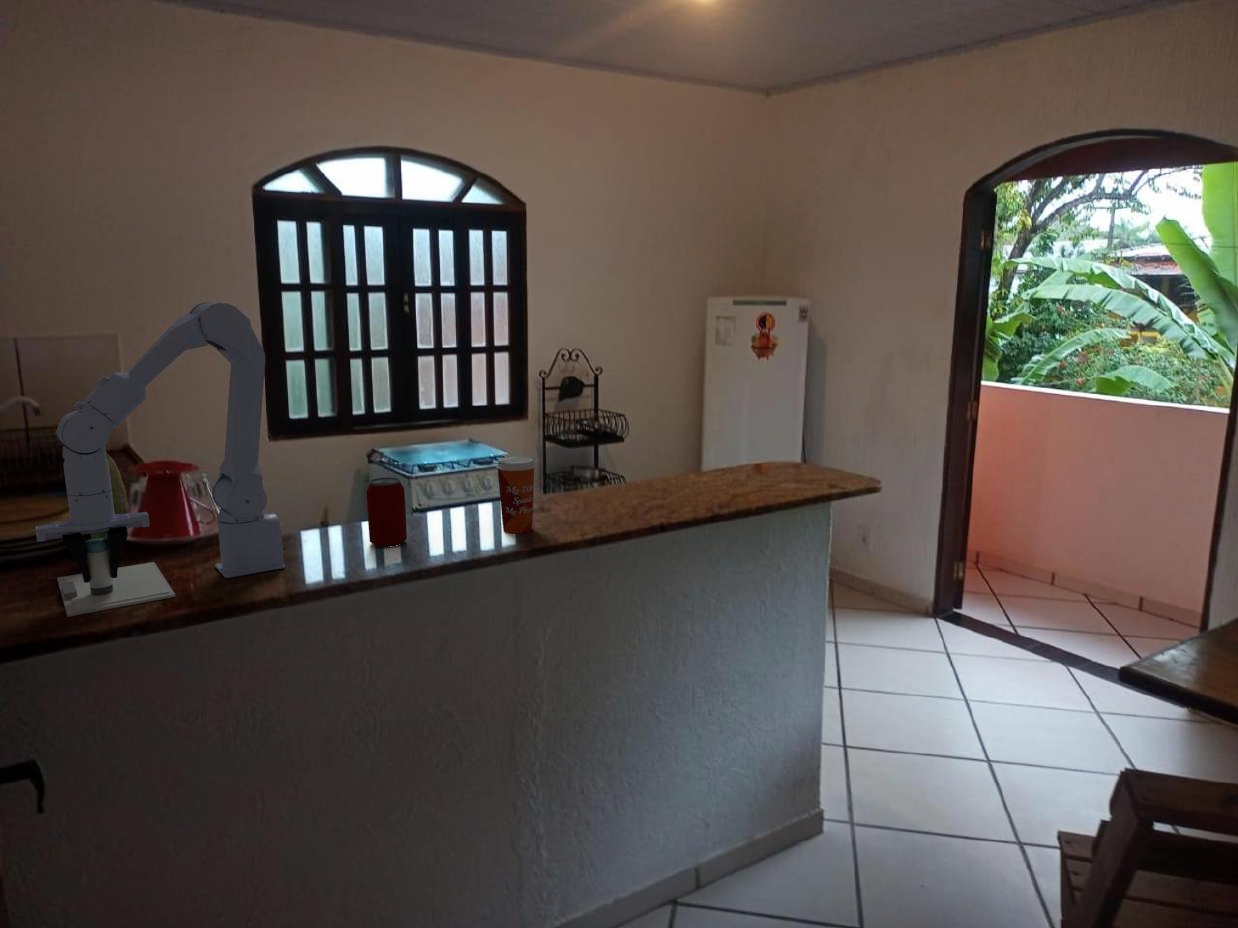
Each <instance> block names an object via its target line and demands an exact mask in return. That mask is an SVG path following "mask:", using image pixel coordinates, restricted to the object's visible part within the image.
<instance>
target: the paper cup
mask: <svg viewBox="0 0 1238 928" xmlns="http://www.w3.org/2000/svg"><path fill="white" fill-rule="evenodd" d="M536 467H537V465H536V464H535V460H534V459H533V458H531V457H526V456H510V457H509V456H508V457H503V458H500V459H498V460H497V465H495V469H497V477H498V488H499V489H498V490H499V500H500V510H501V520H502V530H503V532H504V533H506V534H509V535H510V534H511V535H512V534H513V535H518V534H519V535H521V534H527V533H529V532H532V529H533V518H534V517H533V516H534V515H533V514H534V511H533V510H534V492H535V491H534V488H535V487H534V485H535V484H534V483H535V468H536Z"/></svg>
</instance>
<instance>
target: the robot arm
mask: <svg viewBox="0 0 1238 928" xmlns="http://www.w3.org/2000/svg"><path fill="white" fill-rule="evenodd" d="M207 346H212V347H213V348H215V349H216V351H218V352H219V353H220V354H221V355H222V356H223V357H224V358H225V359H226V360H227V361H228V362H229V363H230V369H229V370H230V374H229V384H228V385H229V386H228V402H227V417H226V419H227V420H226V433H225V444H224V457H223V460H222V463H221V464H220V466H219V473H218V477H217V479H216V481H215V483H213V486H212V489H211V496H212V497H211V498H212V500H213V502H214V503H215V505H216V506H217V507H218V508H219V509H220V510H219V513H218V514H217V516H216V519H217V520H216V521H217V530H218V540H219V541H218V542H219V552H220V562H217V563H216V564H215V565H214V566H215V568H216V569H217V570H218V572H219V573H220V574H222V576H223V577H224V578H225V579H231V578H235V577H241V576H246V575H251V574H258V573H262V572H269V571H274V570H279V569H280V570H281V569H285V568H286V564H285V560H284V558H285V557H284V550H283V534H282V527H281V523H280V519H279V517H278V515H277V514H276V513H274V512H273V513H271V512H270V513H265V511H264V510H265V509H266V506H267V503H268V496H267V493H266V492H265V489H264V486H263V478H264V477H263V473H262V471H261V467H260V464H259V454H260V453H259V452H260V451H259V450H260V438H261V427H262V426H261V424H262V411H263V409H262V408H263V399H264V398H263V397H264V396H263V395H264V384H265V371H266V370H265V367H266V353H265V350H264V349H263V347H262V345H261V343H260V341H259V339H258V338H257V335H256V334H255V332H254V329H253V327H252V324H251V320H250V318H248V316H246V314H244V313H243V312H242V311H241V310H240V309H239V308H238V307H236V306H234V305H233V304H231V303H227V302H215V303H214V302H210V301H209V302H207V301H205V302H200V303H198V304H196V305H194V306H193V307H192V308H191V309H190V311H189V313H185V314H183V315H182V316H180V317H179V318H178V319H177V320H176V321H175V322H173V323H172V325H171V326H170V327H168V329H166V331H164V332H163V334H162V335H161V336H160V337H159V338H158V339H157V340H156V341H155V342H154V343H153V344H152V346H150V347H149V348H148V349H147V350H146V352H144V353H143V355H142V356H141V357H140V358H139V359H138V360H137V361H136V362H135V363H134V364H133V365H132V366H131V367H130V368H129V369H128V370H127V371H124V372H123V371H122V372H121V371H119V372H117V371H116V372H112V373H111V374H110V375H108V376H105V375H102V376H101V377H100V378H99V379H98V380H97V383H98V384H99V385H98V386H97V387H96V388H95V389H94V390H93V391H92V392H91V393H90V394H89V395H87V397H86V398H85V399H84V400H82V402H81V401H79V400H78V401H76V403H74V404H73V407H74V408H75V409H77V410H74V411H72V412H68V413H67V414H65V415H63V416H62V417H61V419H60V420H59V422H58V424H57V428H56V429H57V430H55V435H56V437H57V439H58V440H59V442H60V443H61V444H62V445H63V446H62V458H63V459H64V461H63V465H62V466H63V474H64V480H65V487H66V488H65V490H66V495H67V503H68V509H69V510H68V512H69V518H70V519H69V520H64V521H58V522H54V523H49V524H43V525H38V526H34V528H35V534H36V541H37V542H38V543H39V542H45V541H48V540H54V539H62V541H63V544H64V546H65V547H66V548H67V550H68V551H69V553H70V554H71V555H72V557H73V558H74V560H75V562H76V563H77V565H78V568H79V570H80V571H81V574H82V576H83V580H84V583H87V582H90V577H89V572H88V568H87V560H86V553H85V545H84V542H85V540H84V537H83V535H91V533H97V532H104V531H106V535H107V541H108V548H109V558H110V566H111V575H112V578H117V571H118V568H119V562H120V559H121V556H122V555H121V554H122V551H123V549H124V547H125V543H126V541H127V540H128V539H127V538H128V535H129V532H128V531H127V529H126V528H128V529H131V528H140V527H142V528H146V527H150V524H151V523H150V515H149V514H148V511H142V512H131V513H130V512H129V514H115V513H114V505H113V496H112V488H111V480H110V471H109V463H108V460H107V458H106V452H107V450H106V445H107V443H108V442H109V439H110V431H111V430H115V429H116V428H118V427H119V426H120V425H121V424H122V423H123V422H124V421H125V420H126V419H127V418H128V417H129V416H130V415H131V414H132V413H133V412H135V410H136V409H137V408H138V407H139V406H140V405H141V404H142V403H143V402H144V401H145V400H146V399H147V398H146V397H147V396H146V387H147V386H148V385H149V384H150V383H151V382H152V381H153V380H154V379H155V378H157V377H158V376H159V375H160V374H161V373H162V372H163V371H164V370H165V369H166V368H168V367H169V366H170V365H171V364H172V363H174V361H175V360H177V358H178V357H180V356H181V355H182V354H184V352H185V351H188V350H194V349H198V348H204V347H207Z"/></svg>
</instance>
